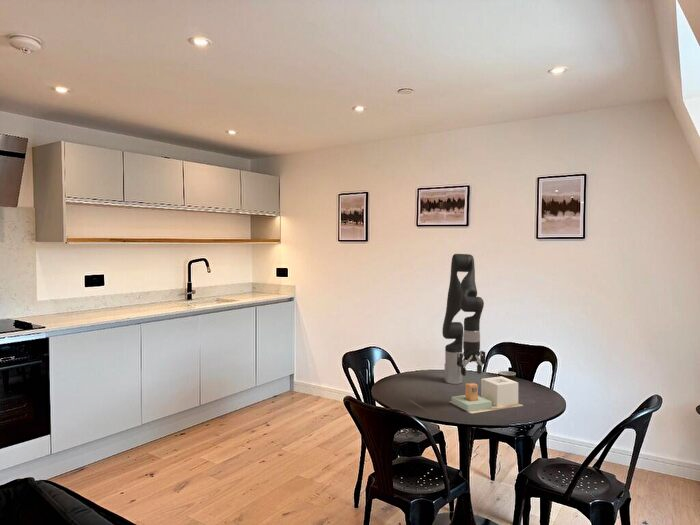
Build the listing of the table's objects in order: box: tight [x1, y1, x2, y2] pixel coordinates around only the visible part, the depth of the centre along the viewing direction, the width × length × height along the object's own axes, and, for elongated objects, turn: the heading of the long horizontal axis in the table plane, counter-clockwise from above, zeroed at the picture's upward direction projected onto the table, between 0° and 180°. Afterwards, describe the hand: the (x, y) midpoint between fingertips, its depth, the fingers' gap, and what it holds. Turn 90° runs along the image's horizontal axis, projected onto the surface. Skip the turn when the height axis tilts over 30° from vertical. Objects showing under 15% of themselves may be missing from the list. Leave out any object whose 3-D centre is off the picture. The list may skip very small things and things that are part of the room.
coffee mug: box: [493, 370, 517, 382], centre depth 247 cm, size 12×9×10 cm
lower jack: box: [451, 394, 492, 413], centre depth 223 cm, size 13×13×3 cm
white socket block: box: [480, 376, 519, 407], centre depth 229 cm, size 12×12×10 cm
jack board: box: [448, 400, 524, 414], centre depth 226 cm, size 18×29×1 cm, turn 112°
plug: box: [464, 382, 479, 402], centre depth 222 cm, size 5×4×10 cm
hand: (471, 374), depth 223 cm, fingers open, 8 cm apart
